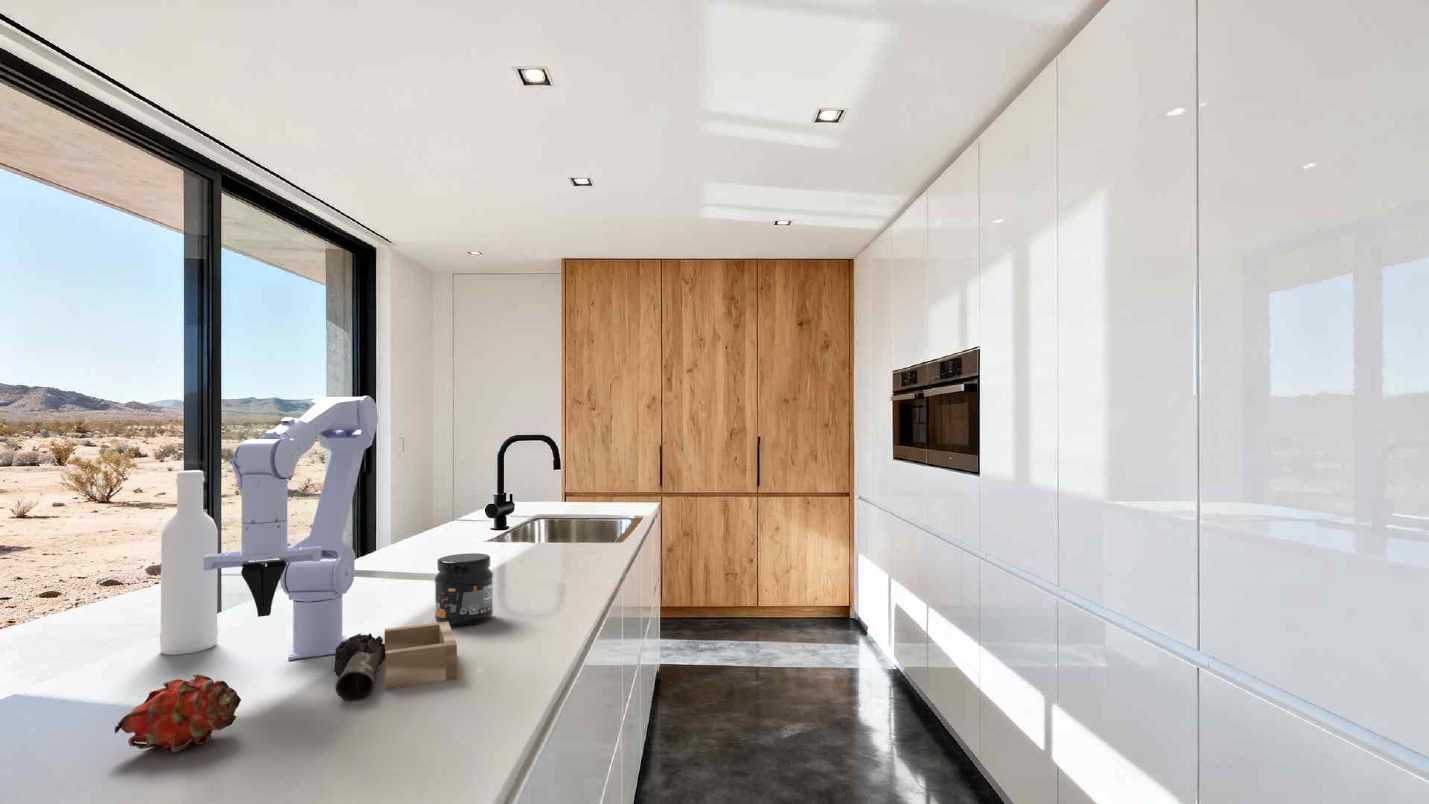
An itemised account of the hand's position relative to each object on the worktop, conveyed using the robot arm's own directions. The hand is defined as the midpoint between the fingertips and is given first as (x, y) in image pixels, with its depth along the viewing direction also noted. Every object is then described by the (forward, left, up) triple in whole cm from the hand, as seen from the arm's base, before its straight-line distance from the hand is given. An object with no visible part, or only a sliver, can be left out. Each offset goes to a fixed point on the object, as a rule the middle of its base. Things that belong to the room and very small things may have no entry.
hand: (264, 614), depth 106 cm
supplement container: (-22, +30, -10) cm, 39 cm away
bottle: (-26, -14, -10) cm, 31 cm away
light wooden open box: (+4, +20, -10) cm, 23 cm away
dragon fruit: (+20, -6, -10) cm, 23 cm away
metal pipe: (+5, +12, -10) cm, 17 cm away
